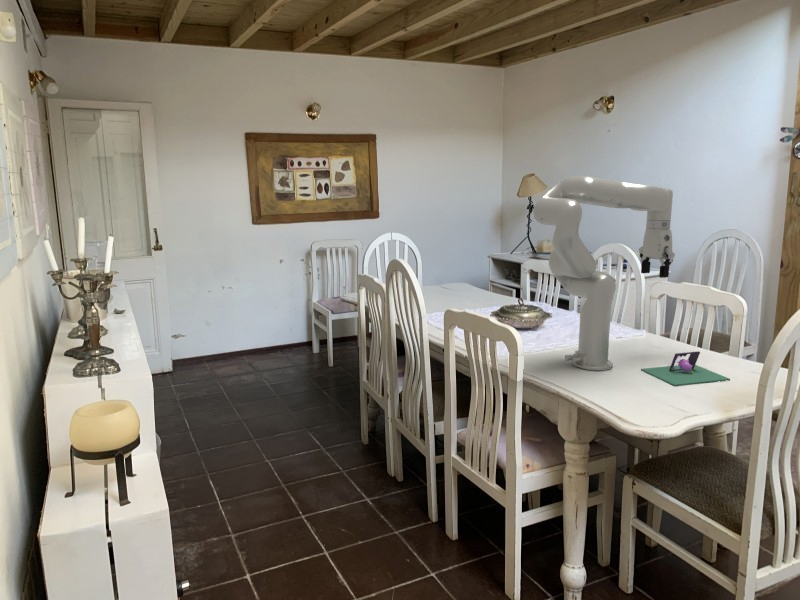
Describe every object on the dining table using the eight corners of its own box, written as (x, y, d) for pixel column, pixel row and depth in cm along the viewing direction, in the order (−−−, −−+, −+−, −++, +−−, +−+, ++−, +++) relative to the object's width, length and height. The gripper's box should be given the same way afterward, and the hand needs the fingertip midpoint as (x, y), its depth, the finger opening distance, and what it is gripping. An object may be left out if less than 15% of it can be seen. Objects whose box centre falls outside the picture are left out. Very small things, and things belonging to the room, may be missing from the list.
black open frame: (698, 349, 192) (673, 352, 189) (708, 359, 187) (684, 361, 185) (691, 366, 195) (667, 369, 193) (701, 376, 191) (677, 379, 188)
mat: (674, 386, 179) (674, 384, 179) (640, 370, 195) (640, 368, 194) (730, 380, 184) (730, 378, 184) (692, 365, 199) (693, 363, 199)
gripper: (685, 226, 196) (681, 278, 199) (651, 223, 212) (647, 271, 216) (665, 227, 194) (661, 279, 198) (632, 223, 211) (629, 272, 214)
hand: (654, 275), depth 207 cm, fingers open, 9 cm apart
